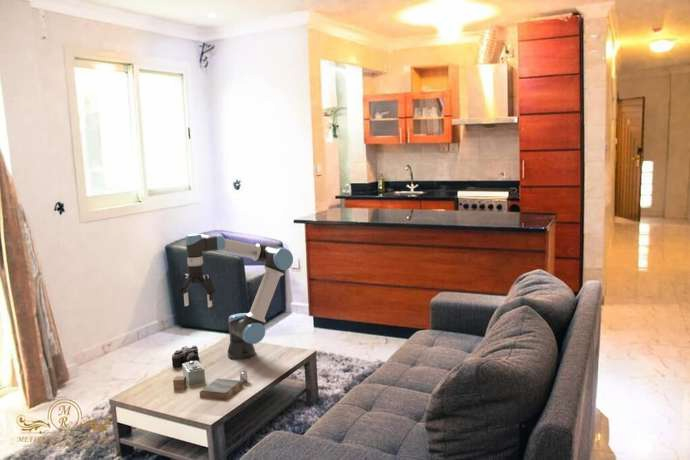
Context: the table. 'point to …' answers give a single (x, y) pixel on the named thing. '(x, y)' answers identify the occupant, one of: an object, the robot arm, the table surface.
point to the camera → (185, 356)
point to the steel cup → (243, 377)
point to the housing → (193, 372)
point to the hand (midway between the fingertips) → (198, 306)
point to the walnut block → (179, 382)
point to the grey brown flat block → (221, 389)
